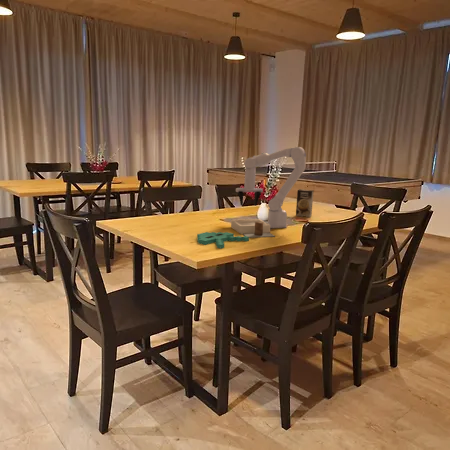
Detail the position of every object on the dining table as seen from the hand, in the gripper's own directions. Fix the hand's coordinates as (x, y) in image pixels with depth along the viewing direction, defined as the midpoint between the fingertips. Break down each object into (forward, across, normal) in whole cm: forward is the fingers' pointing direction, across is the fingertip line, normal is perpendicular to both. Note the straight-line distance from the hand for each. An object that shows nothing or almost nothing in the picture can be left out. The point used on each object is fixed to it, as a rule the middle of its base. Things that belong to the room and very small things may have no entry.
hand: (248, 205), depth 222 cm
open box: (+10, -3, -14) cm, 18 cm away
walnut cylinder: (+10, -2, -27) cm, 28 cm away
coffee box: (+10, +42, +21) cm, 48 cm away
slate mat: (+10, -2, -27) cm, 29 cm away
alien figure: (+11, -23, -34) cm, 43 cm away
